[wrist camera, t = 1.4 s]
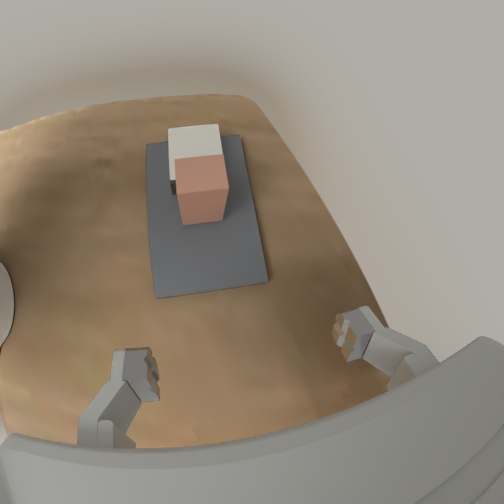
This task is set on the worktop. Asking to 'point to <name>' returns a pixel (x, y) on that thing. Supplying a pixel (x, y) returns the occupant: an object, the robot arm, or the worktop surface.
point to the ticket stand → (203, 234)
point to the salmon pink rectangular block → (201, 188)
